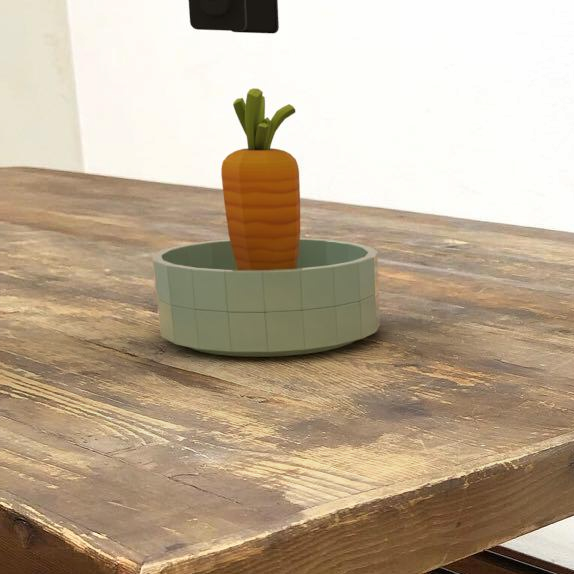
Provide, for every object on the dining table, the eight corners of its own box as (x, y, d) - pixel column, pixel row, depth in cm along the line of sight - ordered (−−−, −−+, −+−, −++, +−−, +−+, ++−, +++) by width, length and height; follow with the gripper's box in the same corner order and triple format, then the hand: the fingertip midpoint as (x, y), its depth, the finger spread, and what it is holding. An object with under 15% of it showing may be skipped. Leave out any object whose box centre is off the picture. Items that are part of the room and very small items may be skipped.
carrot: (259, 317, 85) (241, 86, 79) (323, 323, 83) (310, 87, 78) (218, 332, 81) (197, 88, 75) (285, 338, 79) (268, 89, 74)
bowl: (134, 361, 76) (123, 270, 74) (191, 314, 89) (184, 236, 87) (366, 362, 76) (362, 272, 74) (389, 316, 89) (386, 238, 87)
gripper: (192, -259, 78) (210, 31, 85) (105, -340, 62) (135, 26, 69) (310, -255, 79) (320, 35, 85) (254, -334, 63) (270, 31, 69)
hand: (237, 31), depth 77 cm, fingers open, 9 cm apart
